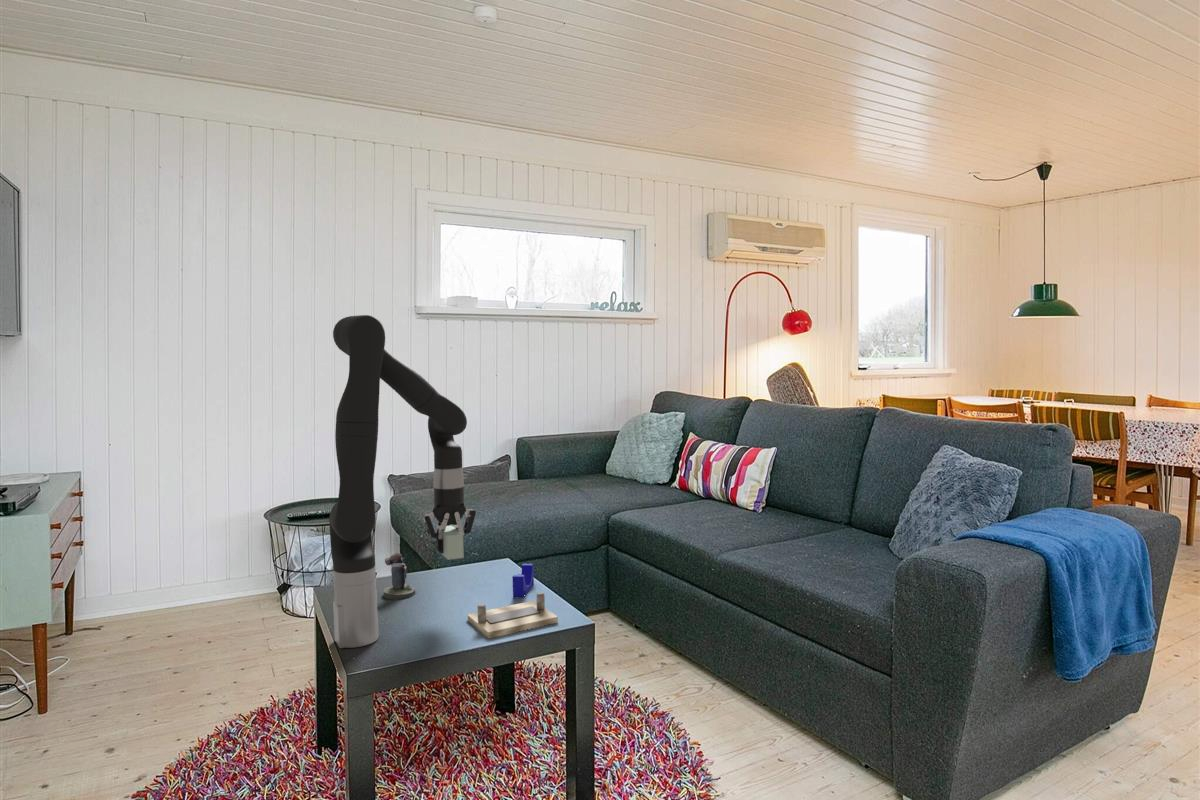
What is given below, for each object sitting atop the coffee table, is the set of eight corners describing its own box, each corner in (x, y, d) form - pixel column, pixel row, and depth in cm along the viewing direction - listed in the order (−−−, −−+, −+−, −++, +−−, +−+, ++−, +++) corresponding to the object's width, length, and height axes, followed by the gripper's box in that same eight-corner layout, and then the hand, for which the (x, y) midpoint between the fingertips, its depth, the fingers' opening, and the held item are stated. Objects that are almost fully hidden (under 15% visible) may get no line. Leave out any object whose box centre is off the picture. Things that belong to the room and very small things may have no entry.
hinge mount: (488, 638, 167) (487, 615, 166) (467, 620, 179) (466, 598, 178) (557, 622, 176) (557, 600, 175) (533, 606, 188) (533, 585, 187)
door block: (463, 557, 180) (463, 534, 180) (447, 559, 178) (447, 535, 178) (452, 547, 190) (451, 525, 190) (437, 549, 188) (436, 527, 188)
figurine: (396, 601, 194) (394, 557, 194) (377, 595, 199) (375, 553, 199) (421, 592, 201) (420, 550, 200) (402, 587, 206) (400, 546, 205)
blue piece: (518, 584, 207) (517, 563, 207) (533, 584, 207) (533, 563, 206) (507, 598, 195) (507, 576, 195) (523, 598, 195) (523, 576, 194)
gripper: (425, 490, 177) (427, 559, 177) (480, 484, 184) (481, 550, 185) (416, 485, 183) (418, 552, 184) (470, 480, 190) (471, 544, 191)
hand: (450, 551), depth 184 cm, fingers closed on door block, 4 cm apart
